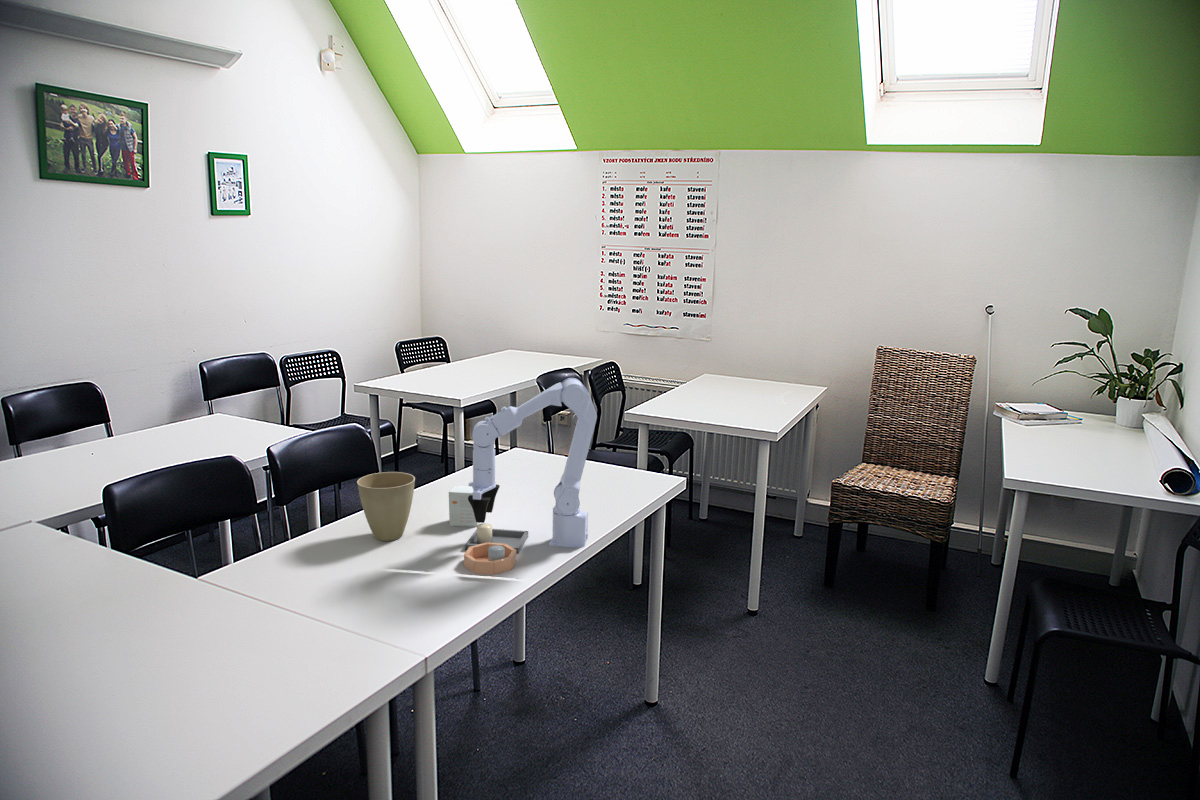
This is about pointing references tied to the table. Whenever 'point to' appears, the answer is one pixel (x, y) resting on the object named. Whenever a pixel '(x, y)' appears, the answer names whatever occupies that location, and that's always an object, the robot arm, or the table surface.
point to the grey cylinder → (496, 553)
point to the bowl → (479, 559)
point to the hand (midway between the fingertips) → (484, 517)
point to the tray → (503, 538)
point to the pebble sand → (484, 533)
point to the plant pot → (387, 502)
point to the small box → (461, 507)
